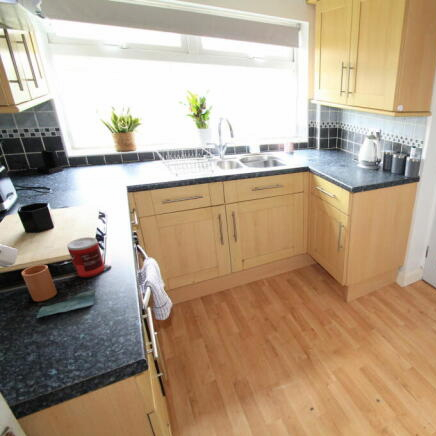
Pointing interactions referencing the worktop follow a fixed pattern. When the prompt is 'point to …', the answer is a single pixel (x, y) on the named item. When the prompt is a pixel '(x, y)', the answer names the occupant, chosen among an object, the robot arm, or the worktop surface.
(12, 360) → the worktop surface
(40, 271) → the terracotta pot
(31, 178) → the worktop surface
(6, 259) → the robot arm
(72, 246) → the canned food
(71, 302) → the terrain model
